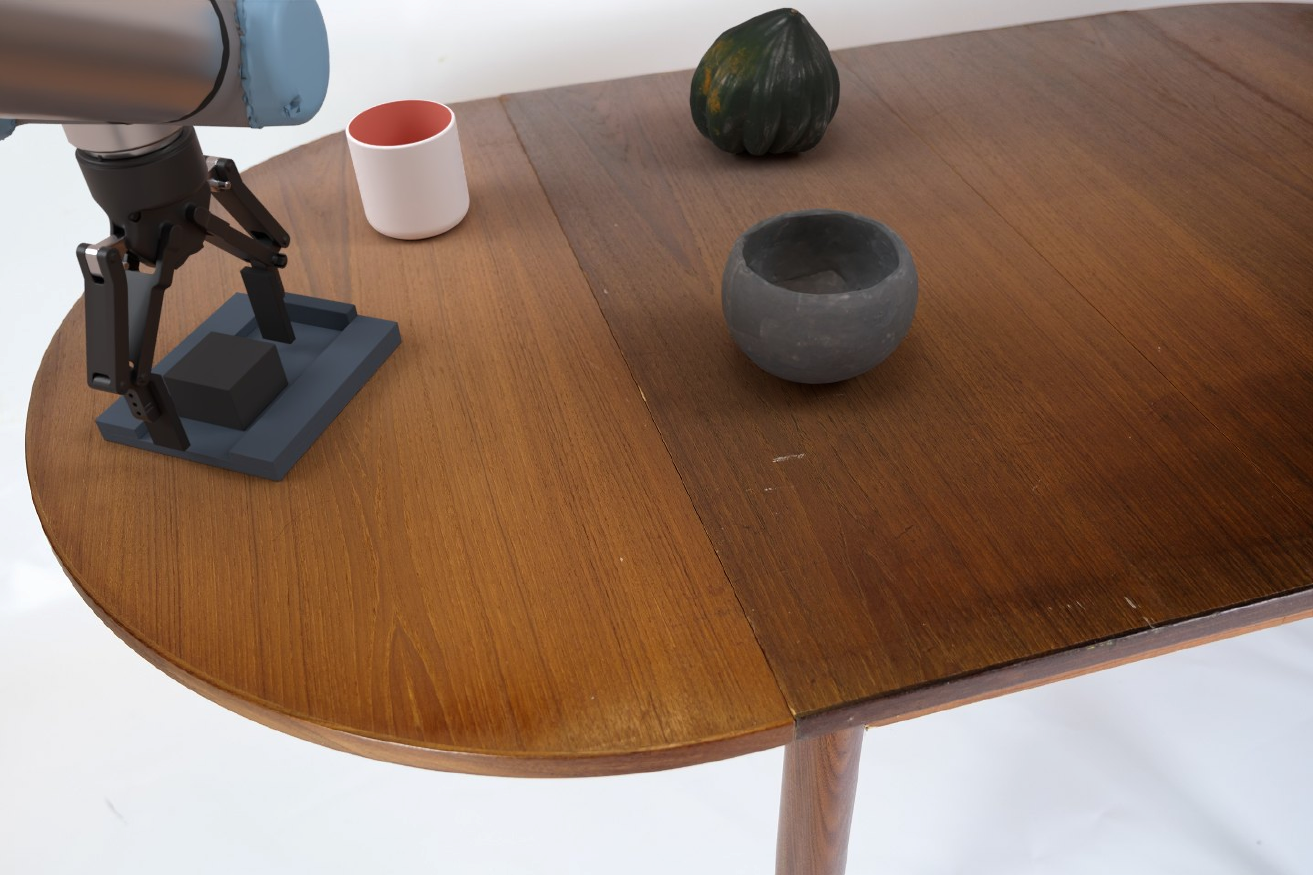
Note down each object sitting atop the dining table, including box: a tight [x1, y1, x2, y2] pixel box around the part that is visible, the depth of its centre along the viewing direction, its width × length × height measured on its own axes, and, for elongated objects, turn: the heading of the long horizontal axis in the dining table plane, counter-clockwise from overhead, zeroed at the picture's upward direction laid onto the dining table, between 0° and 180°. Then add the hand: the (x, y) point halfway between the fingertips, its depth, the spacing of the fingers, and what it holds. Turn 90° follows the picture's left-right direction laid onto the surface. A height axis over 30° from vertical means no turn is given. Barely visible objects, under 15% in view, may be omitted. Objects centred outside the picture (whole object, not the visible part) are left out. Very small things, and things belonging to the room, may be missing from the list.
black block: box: [163, 331, 288, 431], centre depth 87 cm, size 6×6×4 cm
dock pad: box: [94, 291, 403, 483], centre depth 90 cm, size 18×16×3 cm
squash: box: [689, 7, 841, 156], centre depth 115 cm, size 14×15×15 cm
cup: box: [345, 98, 470, 240], centre depth 107 cm, size 10×10×10 cm
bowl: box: [720, 207, 919, 385], centre depth 87 cm, size 15×15×10 cm
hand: (229, 389), depth 87 cm, fingers open, 13 cm apart
